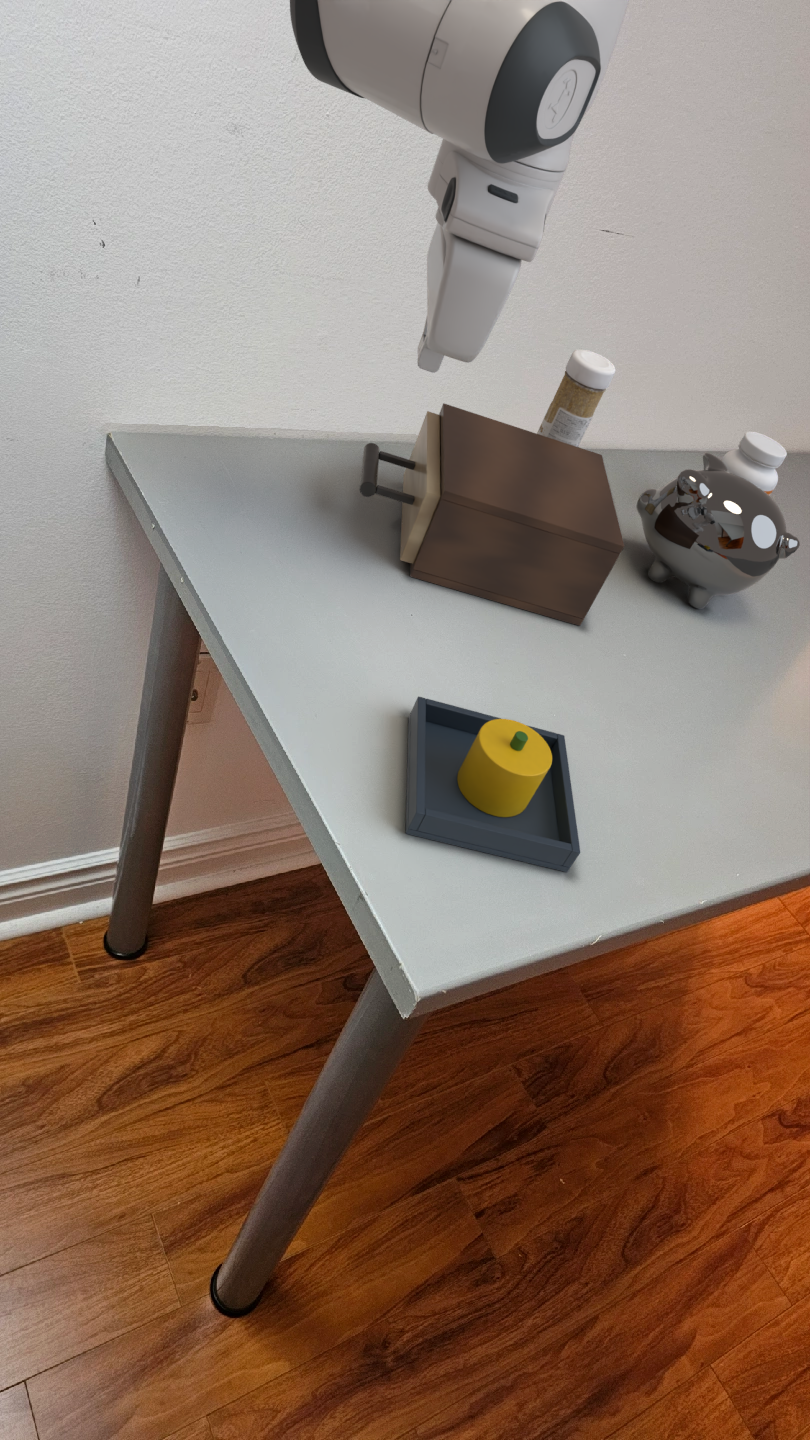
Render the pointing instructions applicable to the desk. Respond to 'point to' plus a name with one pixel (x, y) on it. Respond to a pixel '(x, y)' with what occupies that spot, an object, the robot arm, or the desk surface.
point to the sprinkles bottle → (577, 397)
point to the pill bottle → (756, 460)
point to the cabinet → (519, 519)
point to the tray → (452, 819)
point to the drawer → (410, 484)
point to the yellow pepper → (504, 767)
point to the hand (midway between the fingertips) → (426, 363)
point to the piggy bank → (713, 531)
